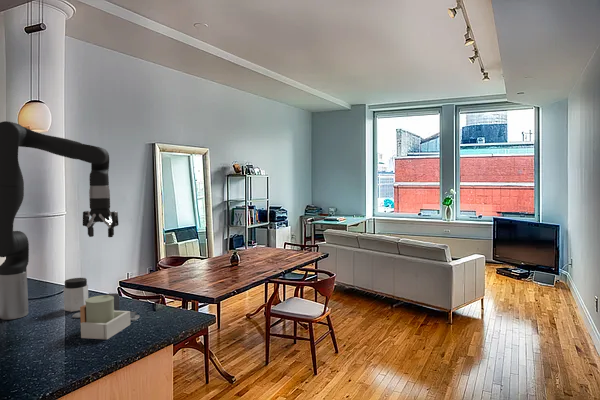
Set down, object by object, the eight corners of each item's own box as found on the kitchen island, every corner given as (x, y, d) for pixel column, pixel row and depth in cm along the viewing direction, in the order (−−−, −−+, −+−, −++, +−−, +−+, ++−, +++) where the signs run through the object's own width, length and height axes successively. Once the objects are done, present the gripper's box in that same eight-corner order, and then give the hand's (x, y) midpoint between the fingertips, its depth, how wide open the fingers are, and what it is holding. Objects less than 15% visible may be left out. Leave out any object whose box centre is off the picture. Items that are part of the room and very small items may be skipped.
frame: (81, 337, 144) (80, 323, 144) (106, 323, 158) (106, 310, 158) (107, 339, 142) (106, 324, 142) (130, 324, 157) (130, 311, 156)
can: (120, 328, 153) (119, 295, 152) (100, 337, 145) (99, 302, 144) (101, 325, 156) (100, 292, 156) (80, 333, 148) (79, 299, 147)
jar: (65, 313, 170) (64, 283, 170) (63, 307, 177) (62, 279, 176) (90, 309, 175) (89, 280, 174) (87, 304, 182) (86, 276, 181)
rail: (72, 317, 165) (72, 315, 165) (78, 314, 168) (77, 312, 168) (135, 320, 161) (135, 318, 161) (139, 317, 164) (139, 315, 164)
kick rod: (80, 329, 149) (79, 307, 149) (110, 313, 166) (109, 293, 166) (111, 331, 147) (111, 308, 147) (138, 314, 165) (138, 294, 164)
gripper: (77, 197, 169) (78, 237, 170) (110, 197, 167) (111, 238, 168) (89, 196, 176) (90, 235, 177) (121, 196, 174) (122, 235, 175)
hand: (100, 236), depth 173 cm, fingers open, 8 cm apart
